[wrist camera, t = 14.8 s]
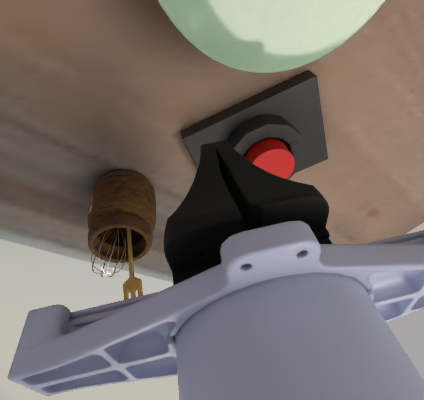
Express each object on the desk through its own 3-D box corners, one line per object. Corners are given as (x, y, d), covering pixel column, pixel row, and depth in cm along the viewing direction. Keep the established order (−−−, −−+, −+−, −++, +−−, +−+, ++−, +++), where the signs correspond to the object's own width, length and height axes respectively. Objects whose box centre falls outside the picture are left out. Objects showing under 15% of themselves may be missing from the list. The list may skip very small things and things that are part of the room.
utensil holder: (140, 159, 26) (137, 266, 17) (164, 205, 30) (171, 309, 22) (81, 177, 26) (48, 292, 17) (113, 220, 31) (99, 330, 22)
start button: (251, 182, 27) (256, 194, 25) (238, 150, 24) (243, 161, 23) (291, 165, 26) (298, 176, 25) (281, 130, 23) (289, 141, 22)
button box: (217, 196, 31) (223, 216, 28) (180, 131, 25) (183, 150, 22) (321, 151, 29) (337, 169, 27) (309, 69, 23) (327, 83, 21)
